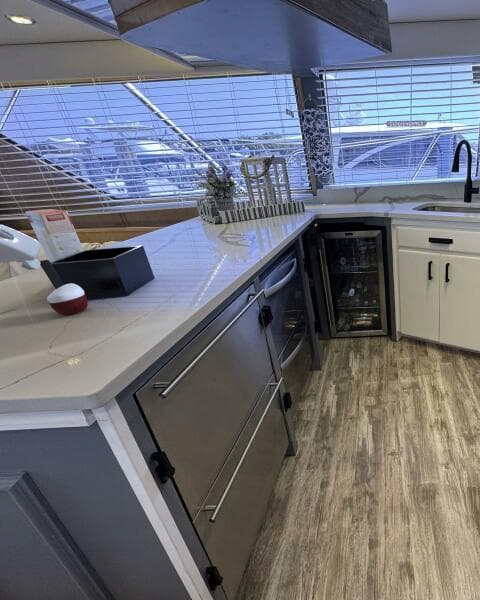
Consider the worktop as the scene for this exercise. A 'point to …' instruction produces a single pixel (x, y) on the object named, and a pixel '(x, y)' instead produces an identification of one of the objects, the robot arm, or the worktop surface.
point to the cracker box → (55, 233)
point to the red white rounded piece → (64, 293)
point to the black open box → (106, 271)
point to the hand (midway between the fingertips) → (9, 268)
